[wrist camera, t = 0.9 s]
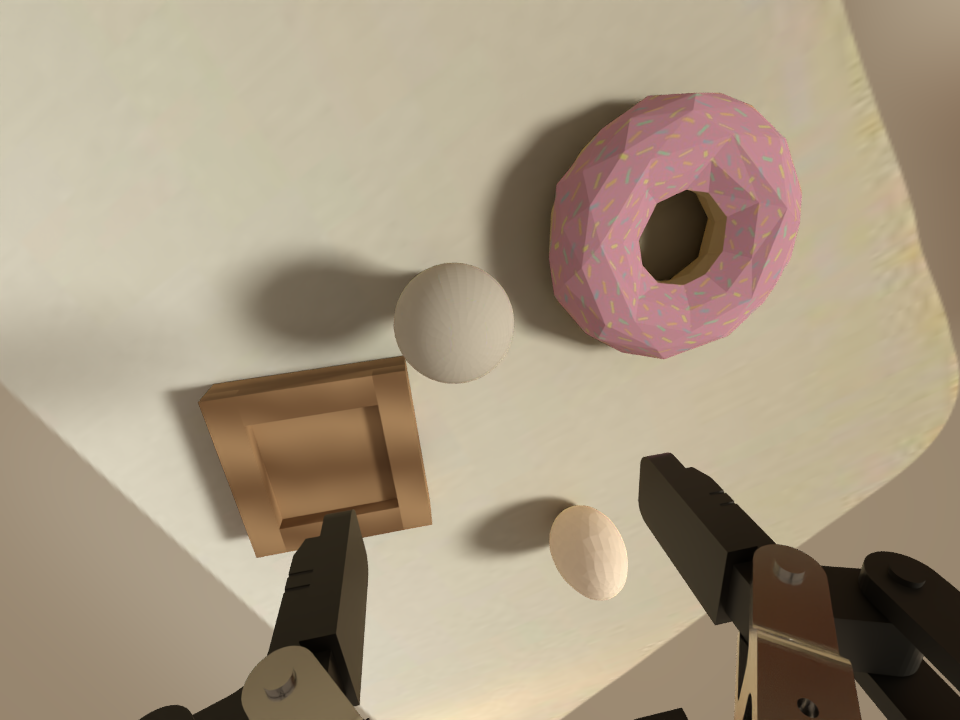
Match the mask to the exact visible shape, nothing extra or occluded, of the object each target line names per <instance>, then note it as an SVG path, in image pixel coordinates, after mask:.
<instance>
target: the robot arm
mask: <svg viewBox="0 0 960 720" xmlns="http://www.w3.org/2000/svg"><path fill="white" fill-rule="evenodd" d="M638 501H639V508H640V512H641V515H642V517H643V519H644V521H645V523H646V525H647V526H648V527H649V529H650V530H651V532H652V533H653V535H654V536H655V538H656V539H657V541H658V542H659V544H660V545H661V547H662V548H663V549H664V551H665V552H666V554H667V555H668V557H669V558H670V560H671V561H672V563H673V564H674V566H675V567H676V568H677V570H678V571H679V573H680V574H681V576H682V577H683V579H684V580H685V582H686V583H687V585H688V586H689V588H690V589H691V590H692V592H693V593H694V595H695V596H696V598H697V599H698V601H699V602H700V604H701V605H702V607H703V608H704V610H705V611H706V612H707V614H708V615H709V617H710V618H711V620H712V621H713V623H714V624H715V625H718V624H723V623H727V622H731V621H732V622H733V623H734V624H735V626H736V627H737V629H738V630H739V631H738V637H737V655H736V656H737V657H736V682H735V709H734V720H862V719H861V713H860V707H859V701H858V696H857V690H856V684H855V680H856V681H857V682H858V683H859V685H860V686H861V687H862V689H863V690H864V691H865V692H866V693H867V695H868V696H869V697H870V698H871V700H872V701H873V702H874V703H875V704H876V706H877V707H878V708H879V709H880V711H881V712H882V713H883V714H884V715H885V717H886V718H887V719H888V720H960V697H959V696H958V695H957V694H956V693H955V692H954V691H953V690H952V688H951V687H950V686H948V684H947V683H946V682H945V681H944V680H943V679H942V678H941V677H940V676H939V675H938V674H937V673H936V672H935V671H934V670H933V669H932V668H931V667H930V666H929V665H928V664H927V663H926V662H925V661H924V660H923V657H924V656H925V657H926V658H927V659H928V660H929V661H930V662H931V663H932V664H933V665H934V666H935V667H936V668H937V669H938V670H939V671H940V672H941V673H942V674H943V675H944V676H945V677H946V678H947V679H948V680H949V681H950V682H951V683H952V684H953V685H954V686H955V687H956V689H957V690H958V691H959V692H960V592H959V591H958V590H957V589H956V588H955V587H954V586H952V585H951V584H950V583H949V582H947V581H946V580H945V579H944V578H942V577H941V576H940V575H939V574H938V573H936V572H935V571H934V570H932V569H931V568H929V567H928V566H927V565H925V564H923V563H921V562H919V561H917V560H915V559H913V558H911V557H908V556H905V555H902V554H898V553H894V552H885V551H883V552H882V551H881V552H875V553H871V554H869V555H868V556H867V557H866V558H865V560H864V562H863V565H862V568H861V569H856V568H844V567H829V566H821V565H820V564H819V563H818V562H817V561H816V560H814V559H813V558H812V557H810V556H809V555H807V554H806V553H804V552H802V551H800V550H798V549H795V548H793V547H789V546H785V545H779V544H776V543H775V542H774V541H773V540H772V539H771V538H770V537H769V536H768V535H767V534H766V533H765V532H764V531H763V530H762V529H761V528H760V527H759V526H758V525H757V524H756V523H755V522H754V521H753V520H752V519H751V518H750V517H749V516H748V515H747V514H746V513H745V512H744V511H743V510H742V509H741V508H740V507H739V506H738V505H737V504H735V503H734V501H733V500H732V498H731V497H730V496H729V495H728V494H727V493H724V491H723V489H722V488H721V487H720V486H719V485H718V484H717V483H716V482H715V481H714V480H713V479H712V478H711V477H709V476H708V475H706V474H704V473H702V472H700V471H699V470H697V469H695V468H693V467H690V468H685V467H684V466H683V465H682V464H681V463H680V462H679V461H678V459H677V458H676V457H675V456H674V455H673V454H671V453H663V454H657V455H652V456H646V457H643V458H642V460H641V464H640V480H639V497H638ZM367 587H368V561H367V554H366V550H365V546H364V542H363V538H362V534H361V530H360V527H359V523H358V519H357V515H356V512H355V510H354V509H352V510H347V511H341V512H336V513H330V514H326V515H325V516H324V518H323V523H322V528H321V533H320V536H318V537H312V538H307V539H305V540H304V542H303V543H302V545H301V546H300V547H299V549H298V550H297V552H296V553H295V554H294V556H293V559H292V563H291V567H290V571H289V578H287V582H286V586H285V593H284V594H283V598H282V601H281V605H280V609H279V613H278V617H277V621H276V625H275V628H274V632H273V636H272V640H271V644H270V648H269V652H268V654H267V656H266V657H265V658H264V659H262V660H261V661H260V662H259V663H258V664H257V666H255V667H254V669H253V670H252V671H251V673H250V674H249V676H248V678H247V680H246V681H245V684H244V686H243V687H242V688H240V689H239V690H238V691H236V692H235V693H233V694H231V695H230V696H228V697H226V698H224V699H222V700H220V701H218V702H216V703H215V704H213V705H211V706H209V707H207V708H205V709H203V710H201V711H199V712H197V713H195V714H194V715H192V714H191V712H190V711H189V710H188V709H187V708H185V707H183V706H179V705H170V706H165V707H162V708H159V709H157V710H155V711H153V712H151V713H149V714H147V715H146V716H144V717H143V718H141V719H140V720H364V719H363V718H362V717H361V716H360V714H359V713H358V712H357V710H356V709H355V708H354V706H358V705H360V690H361V675H362V661H363V646H364V631H365V616H366V601H367ZM366 720H371V719H369V718H367V719H366ZM635 720H688V719H687V717H686V715H685V713H684V711H683V709H682V708H679V709H674V710H671V711H667V712H662V713H658V714H654V715H651V716H646V717H642V718H638V719H635Z"/></svg>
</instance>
